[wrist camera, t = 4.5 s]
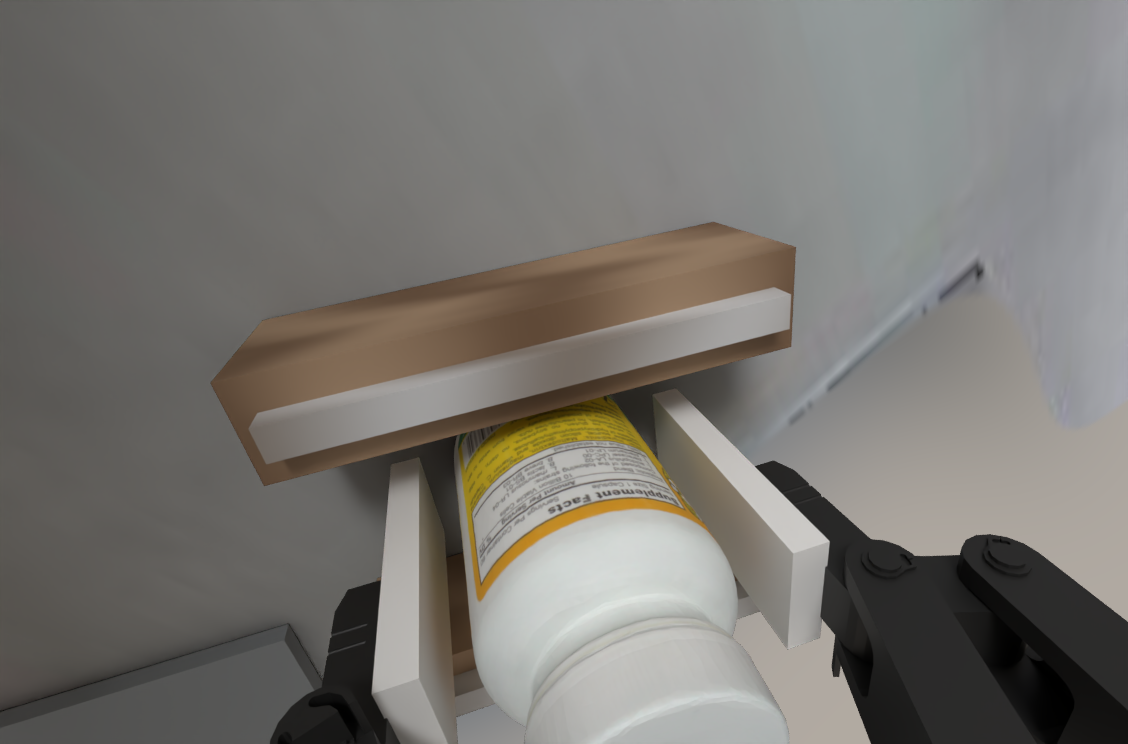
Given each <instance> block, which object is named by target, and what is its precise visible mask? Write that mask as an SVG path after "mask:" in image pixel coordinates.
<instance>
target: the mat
mask: <svg viewBox="0 0 1128 744" xmlns="http://www.w3.org/2000/svg"><path fill="white" fill-rule="evenodd" d="M322 683H323V682H322V681H321V679H320V677H319V676H318V674H317V672H316V670H315V669H314V667H313V665H312V664H311V662H310V660H309V658H308V657H307V655H306V653H305V652H304V650H303V648H302V646H301V645H300V643H299V641H298V640H297V638H296V636H295V634H294V633H293V631H292V629H291V628H290V626H289V624H287V625H283V626H280V627H277V628H273V629H270V630H267V631H264V632H260V633H257V634H254V635H251V636H247V637H244V638H241V639H237V640H234V641H231V642H228V643H224V644H221V645H218V646H215V647H211V648H208V649H205V650H201V651H198V652H195V653H192V654H188V655H185V656H182V657H179V658H175V659H172V660H169V661H165V662H162V663H159V664H156V665H152V666H149V667H146V668H143V669H139V670H136V671H133V672H129V673H126V674H123V675H120V676H116V677H113V678H110V679H107V680H103V681H100V682H97V683H93V684H90V685H87V686H84V687H80V688H77V689H74V690H71V691H67V692H64V693H61V694H57V695H54V696H51V697H48V698H44V699H41V700H38V701H35V702H31V703H28V704H25V705H21V706H18V707H15V708H12V709H8V710H5V711H2V712H0V744H270V740H271V737H272V735H273V733H274V731H275V729H276V726H277V724H278V722H279V721H280V720H281V719H282V717H283V716H284V715H285V714H286V712H287V711H288V710H289V709H290V707H291V706H292V705H294V704H295V703H296V702H297V701H299V700H300V699H301V698H302V697H304V696H305V695H306V694H308V693H310V692H312V691H315V690H317V689H319V688H321V687H322Z"/></svg>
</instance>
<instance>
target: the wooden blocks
mask: <svg viewBox="0 0 1128 744" xmlns="http://www.w3.org/2000/svg"><path fill="white" fill-rule="evenodd" d="M795 253H796V247H794V246H791V245H787V244H784V243H781V242H778V241H774V240H771V239H768V238H764V237H761V236H758V235H755V234H751V233H748V232H745V231H741V230H738V229H735V228H732V227H728V226H725V225H722V224H719V223H715V222H711V223H707V224H702V225H698V226H693V227H688V228H684V229H679V230H675V231H670V232H666V233H661V234H656V235H652V236H647V237H643V238H638V239H633V240H629V241H624V242H620V243H615V244H610V245H606V246H601V247H597V248H592V249H588V250H583V251H578V252H574V253H569V254H565V255H560V256H555V257H551V258H546V259H542V260H537V261H532V262H528V263H523V264H519V265H514V266H510V267H505V268H500V269H496V270H491V271H487V272H482V273H477V274H473V275H468V276H464V277H459V278H454V279H450V280H445V281H441V282H436V283H432V284H427V285H422V286H418V287H413V288H409V289H404V290H399V291H395V292H390V293H386V294H381V295H376V296H372V297H367V298H363V299H358V300H354V301H349V302H344V303H340V304H335V305H331V306H326V307H321V308H317V309H312V310H308V311H303V312H298V313H294V314H289V315H285V316H280V317H276V318H271V319H266V320H262V322H261V323H260V324H259V325H258V326H257V328H256V329H255V330H254V331H253V332H252V334H251V335H250V336H249V337H248V338H247V340H246V341H245V342H244V343H243V344H242V346H241V347H240V348H239V349H238V350H237V352H236V353H235V354H234V355H233V356H232V358H231V359H230V360H229V361H228V362H227V364H226V365H225V366H224V367H223V368H222V370H221V371H220V372H219V373H218V374H217V376H216V377H215V378H214V379H213V380H212V382H211V385H212V387H213V389H214V391H215V393H216V395H217V396H218V398H219V400H220V402H221V404H222V406H223V408H224V410H225V412H226V414H227V416H228V418H229V419H230V421H231V423H232V425H233V427H234V429H235V431H236V433H237V435H238V437H239V439H240V441H241V443H242V444H243V446H244V448H245V450H246V452H247V454H248V456H249V458H250V460H251V462H252V464H253V466H254V467H255V469H256V471H257V473H258V475H259V477H260V479H261V481H262V483H263V485H264V486H267V485H270V484H274V483H278V482H282V481H285V480H289V479H293V478H297V477H301V476H304V475H308V474H312V473H316V472H319V471H323V470H327V469H331V468H335V467H338V466H342V465H346V464H350V463H353V462H357V461H361V460H365V459H369V458H372V457H376V456H380V455H384V454H387V453H391V452H395V451H399V450H403V449H406V448H410V447H414V446H418V445H421V444H425V443H429V442H433V441H437V440H440V439H444V438H448V437H452V436H455V435H459V434H463V433H467V432H471V431H474V430H478V429H482V428H486V427H489V426H493V425H497V424H501V423H505V422H508V421H512V420H516V419H520V418H523V417H527V416H531V415H535V414H539V413H542V412H546V411H550V410H554V409H557V408H561V407H565V406H569V405H573V404H576V403H580V402H584V401H588V400H591V399H595V398H599V397H603V396H607V395H610V394H614V393H618V392H622V391H625V390H629V389H633V388H637V387H641V386H644V385H648V384H652V383H656V382H659V381H663V380H667V379H671V378H675V377H678V376H682V375H686V374H690V373H693V372H697V371H701V370H705V369H709V368H712V367H716V366H720V365H724V364H727V363H731V362H735V361H739V360H743V359H746V358H750V357H754V356H758V355H761V354H765V353H769V352H773V351H777V350H780V349H784V348H788V347H791V339H792V317H793V296H794V274H795ZM446 565H447V580H448V596H449V612H450V628H451V644H452V660H453V676H454V692H455V708H456V717H458V716H461V715H464V714H467V713H470V712H473V711H475V710H478V709H481V708H484V707H487V706H490V705H492V704H495V702H494V701H493V700H492V698H491V697H490V695H489V694H488V692H487V691H486V689H485V687H484V685H483V683H482V681H481V679H480V676H479V673H478V670H477V667H476V663H475V658H474V652H473V644H472V637H471V627H470V616H469V606H468V594H467V584H466V573H465V563H464V553H460V554H457V555H453V556H450V557H447V558H446ZM733 575H734V574H733ZM734 578H735V583H736V587H737V597H738V612H737V619H739V618H742V617H745V616H748V615H751V614H754V613H756V612H760V610H759V609H758V608H757V606H756V605H755V603H754V602H753V601H752V599H751V598H750V596H749V595H748V593H747V592H746V591H745V589H744V588H743V586H742V585H741V584H740V582H739V581H738V579H737V578H736V577H735V575H734ZM379 580H381V577H380V578H377V581H379ZM737 619H736V620H737Z"/></svg>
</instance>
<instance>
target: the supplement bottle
mask: <svg viewBox="0 0 1128 744" xmlns="http://www.w3.org/2000/svg"><path fill="white" fill-rule="evenodd" d="M454 468H455V479H456V487H457V496H458V506H459V517H460V526H461V535H462V544H463V553H464V563H465V573H466V584H467V594H468V606H469V616H470V627H471V637H472V644H473V652H474V658H475V663H476V667H477V670H478V673H479V676H480V679H481V681H482V683H483V685H484V687H485V689H486V691H487V692H488V694H489V695H490V697H491V698H492V700H493V701H494V702H495V704H496V705H497V706H498V707H499V708H500V709H501V710H502V711H503V712H504V713H506V714H507V715H508V716H509V717H510V718H512V719H513V720H515V721H516V722H517V723H519V724H521V725H522V726H524V727H526V733H525V740H524V744H789V731H788V727H787V723H786V720H785V717H784V715H783V713H782V711H781V709H780V707H779V706H778V704H777V702H776V700H775V699H774V697H773V695H772V693H771V692H770V690H769V688H768V687H767V685H766V683H765V682H764V680H763V678H762V677H761V675H760V673H759V672H758V670H757V669H756V667H755V665H754V663H753V661H752V659H751V657H750V656H749V654H748V653H747V652H746V650H745V649H744V648H743V647H742V646H741V645H740V644H739V643H738V642H736V641H735V640H734V638H733V637H732V636H733V633H734V629H735V625H736V619H737V612H738V597H737V587H736V583H735V578H734V575H733V572H732V569H731V567H730V564H729V562H728V560H727V558H726V556H725V554H724V553H723V551H722V549H721V547H720V546H719V544H718V543H717V541H716V540H715V538H714V537H713V536H712V534H711V533H710V531H709V530H708V529H707V527H706V525H705V523H704V522H703V521H702V519H701V518H700V517H699V516H698V515H697V514H696V512H695V511H694V509H693V508H692V507H691V505H690V504H689V503H688V502H687V500H686V499H685V497H684V496H683V495H682V493H681V492H680V491H679V489H678V488H677V486H676V485H675V483H674V482H673V481H672V479H671V478H670V477H669V475H668V474H667V472H666V471H665V469H664V468H663V466H662V465H661V464H660V462H659V461H658V460H657V458H656V457H655V455H654V454H653V453H652V451H651V450H650V448H649V447H648V446H647V444H646V443H645V442H644V440H643V439H642V437H641V436H640V435H639V433H638V432H637V431H636V429H635V428H634V426H633V425H632V423H631V422H630V421H629V420H628V418H627V417H626V415H625V414H624V413H623V412H622V410H621V409H620V408H619V407H618V405H617V404H616V403H615V401H614V400H613V399H612V397H611V396H610V395H607V396H603V397H599V398H595V399H591V400H588V401H584V402H580V403H576V404H573V405H569V406H565V407H561V408H557V409H554V410H550V411H546V412H542V413H539V414H535V415H531V416H527V417H523V418H520V419H516V420H512V421H508V422H505V423H501V424H497V425H493V426H489V427H486V428H482V429H478V430H474V431H471V432H467V433H463V434H459V435H457V439H456V443H455V449H454Z"/></svg>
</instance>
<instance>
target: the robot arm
mask: <svg viewBox="0 0 1128 744" xmlns="http://www.w3.org/2000/svg"><path fill="white" fill-rule="evenodd" d="M652 398H653V410H654V421H655V432H656V443H657V454H658V461H659V462H660V464H661V465H662V466H663V468H664V469H665V471H666V472H667V474H668V475H669V477H670V478H671V479H672V481H673V482H674V483H675V485H676V486H677V488H678V489H679V491H680V492H681V493H682V495H683V496H684V497H685V499H686V500H687V502H688V503H689V504H690V505H691V507H692V508H693V509H694V511H695V512H696V514H697V515H698V516H699V517H700V518H701V519H702V521H703V522H704V523H705V525H706V527H707V529H708V530H709V531H710V533H711V534H712V536H713V537H714V538H715V540H716V541H717V543H718V544H719V546H720V547H721V549H722V551H723V553H724V554H725V556H726V558H727V560H728V562H729V564H730V567H731V569H732V572H733V574H734V575H735V577H736V578H737V579H738V581H739V582H740V584H741V585H742V586H743V588H744V589H745V591H746V592H747V593H748V595H749V596H750V598H751V599H752V601H753V602H754V603H755V605H756V606H757V608H758V609H759V610H760V612H761V613H762V615H763V616H764V617H765V619H766V620H767V622H768V623H769V624H770V626H771V627H772V628H773V630H774V631H775V633H776V634H777V635H778V637H779V638H780V640H781V641H782V643H783V644H784V645H785V647H786V648H787V650H788V649H791V648H794V647H796V646H799V645H802V644H804V643H807V642H810V641H813V640H815V639H818V638H820V632H821V623H822V619H823V621H824V622H825V623H826V624H827V625H828V627H829V628H830V629H831V630H832V631H833V633H834V634H835V643H834V651H833V659H832V671H833V677H839V673H840V666H841V667H842V669H843V672H844V674H845V677H846V680H847V682H848V685H849V688H850V690H851V693H852V695H853V698H854V701H855V703H856V706H857V708H858V711H859V714H860V716H861V719H862V721H863V724H864V726H865V729H866V732H867V734H868V737H869V740H870V742H871V744H1128V622H1127V621H1126V620H1125V619H1123V618H1122V617H1121V616H1120V615H1118V614H1117V613H1115V612H1114V611H1113V610H1112V609H1111V608H1109V607H1108V606H1107V605H1105V604H1104V603H1103V602H1102V601H1100V600H1099V599H1098V598H1096V597H1095V596H1094V595H1092V594H1091V593H1090V592H1089V591H1087V590H1086V589H1085V588H1083V587H1082V586H1081V585H1079V584H1078V583H1077V582H1076V581H1074V580H1073V579H1072V578H1071V577H1069V576H1068V575H1067V574H1065V573H1064V572H1063V571H1061V570H1060V569H1059V568H1058V567H1056V566H1055V565H1054V564H1053V563H1051V562H1050V561H1049V560H1047V559H1046V558H1045V557H1044V556H1042V555H1041V554H1040V553H1038V552H1037V551H1035V550H1033V549H1032V548H1030V547H1028V546H1027V545H1025V544H1024V543H1021V542H1018V541H1015V540H1013V539H1010V538H1007V537H1002V536H996V535H991V534H989V535H976V536H974V537H971V538H969V539H967V540H966V541H965V543H964V545H963V546H962V549H961V553H960V555H952V556H914V555H913V554H912V553H910V552H909V551H907V550H905V549H904V548H902V547H900V546H899V545H896V544H893V543H890V542H887V541H883V540H872V539H870V538H869V537H867V535H865V534H864V533H863V532H862V531H861V530H860V529H859V528H858V527H857V526H855V525H854V524H853V523H852V522H851V521H850V520H849V519H848V518H847V517H845V516H844V515H843V514H842V513H841V512H840V511H839V510H838V509H836V508H835V507H834V506H833V505H832V504H831V503H830V502H829V501H828V500H827V499H825V498H824V497H821V494H820V493H819V492H818V491H817V490H815V489H814V488H813V487H812V486H809V483H808V482H806V480H804V479H803V478H802V477H801V476H800V475H799V474H798V473H797V472H796V471H794V470H793V469H791V468H788V467H786V466H784V465H782V464H780V463H778V462H776V461H770V462H767V463H764V464H760V465H757V466H754V465H753V464H752V463H751V462H750V461H749V460H748V459H747V458H746V457H745V456H744V455H743V454H742V453H741V452H740V451H739V450H738V449H737V448H736V447H735V446H734V445H733V444H732V443H731V442H730V441H729V440H728V439H727V438H725V437H724V436H723V435H722V434H721V433H720V432H719V431H718V430H717V429H716V428H715V427H714V426H713V425H712V424H711V423H710V422H709V421H708V420H707V419H706V418H705V417H704V416H703V415H702V414H701V413H700V412H699V411H698V410H697V409H696V408H695V407H694V406H693V405H692V404H691V403H690V402H689V401H688V400H687V399H686V398H685V397H684V396H683V395H682V394H681V393H680V392H679V391H678V390H677V389H676V388H675V389H671V390H667V391H664V392H660V393H656V394H653V395H652ZM331 634H332V638H330V644H329V649H328V653H329V656H327V661H326V666H325V672H324V678H323V683H322V687H321V688H319V689H317V690H315V691H312V692H310V693H308V694H306V695H305V696H304V697H302V698H301V699H300V700H299V701H297V702H296V703H295V704H294V705H292V706H291V707H290V709H289V710H288V711H287V712H286V714H285V715H284V716H283V717H282V719H281V720H280V721H279V722H278V724H277V726H276V729H275V731H274V733H273V735H272V737H271V740H270V744H458V740H457V724H456V708H455V692H454V676H453V660H452V644H451V628H450V612H449V596H448V580H447V565H446V549H445V533H444V529H443V526H442V523H441V520H440V517H439V514H438V511H437V508H436V505H435V502H434V499H433V497H432V494H431V491H430V488H429V485H428V482H427V479H426V476H425V473H424V470H423V467H422V464H421V461H420V458H419V457H418V458H414V459H410V460H406V461H403V462H399V463H395V464H392V465H391V472H390V483H389V495H388V507H387V519H386V530H385V542H384V554H383V566H382V577H381V580H379V581H376V582H373V583H369V584H366V585H363V586H359V587H356V588H353V589H349V590H348V591H347V592H346V594H345V596H344V597H343V599H342V601H341V603H340V604H339V606H338V608H337V609H336V611H335V615H334V621H333V626H332V632H331Z"/></svg>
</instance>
